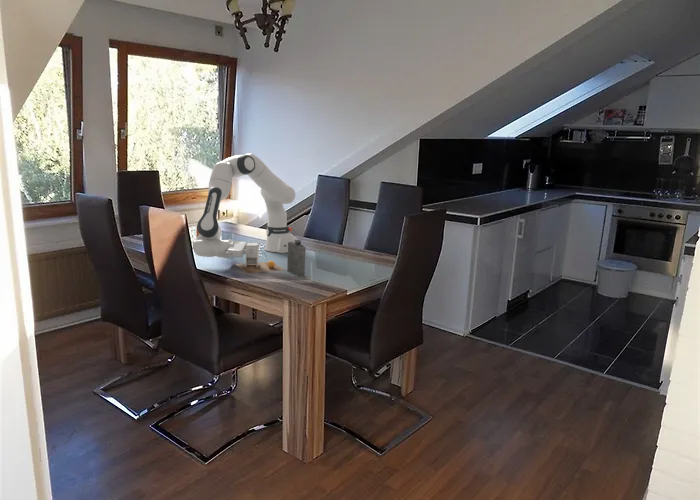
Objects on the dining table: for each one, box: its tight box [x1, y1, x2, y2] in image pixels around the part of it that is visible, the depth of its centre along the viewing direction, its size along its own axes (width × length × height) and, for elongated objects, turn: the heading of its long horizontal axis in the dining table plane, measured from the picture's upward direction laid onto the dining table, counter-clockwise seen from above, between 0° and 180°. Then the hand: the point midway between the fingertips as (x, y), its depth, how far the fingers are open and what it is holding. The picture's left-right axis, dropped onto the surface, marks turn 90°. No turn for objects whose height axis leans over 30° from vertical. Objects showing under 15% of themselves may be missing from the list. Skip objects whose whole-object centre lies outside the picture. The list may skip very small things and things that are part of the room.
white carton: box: [245, 242, 260, 267], centre depth 275 cm, size 6×6×11 cm
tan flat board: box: [234, 261, 285, 274], centre depth 275 cm, size 20×18×1 cm
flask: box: [286, 239, 306, 278], centre depth 264 cm, size 4×14×18 cm, turn 35°
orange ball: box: [267, 260, 276, 268], centre depth 274 cm, size 4×4×4 cm
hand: (254, 249), depth 274 cm, fingers open, 6 cm apart
